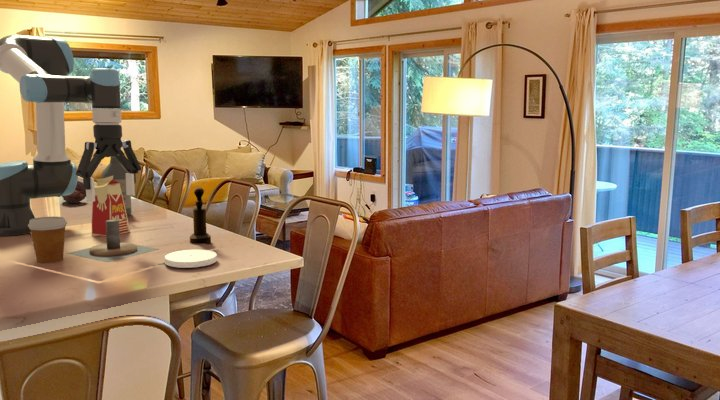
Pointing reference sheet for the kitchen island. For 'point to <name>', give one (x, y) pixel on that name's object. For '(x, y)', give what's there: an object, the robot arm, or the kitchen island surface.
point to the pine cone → (76, 194)
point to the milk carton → (108, 206)
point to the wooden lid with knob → (113, 243)
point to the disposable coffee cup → (48, 238)
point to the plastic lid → (190, 258)
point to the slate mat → (112, 258)
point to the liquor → (119, 180)
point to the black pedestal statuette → (199, 220)
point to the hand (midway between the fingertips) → (111, 198)
